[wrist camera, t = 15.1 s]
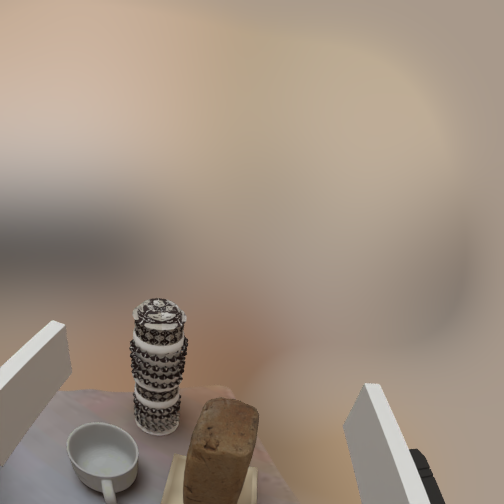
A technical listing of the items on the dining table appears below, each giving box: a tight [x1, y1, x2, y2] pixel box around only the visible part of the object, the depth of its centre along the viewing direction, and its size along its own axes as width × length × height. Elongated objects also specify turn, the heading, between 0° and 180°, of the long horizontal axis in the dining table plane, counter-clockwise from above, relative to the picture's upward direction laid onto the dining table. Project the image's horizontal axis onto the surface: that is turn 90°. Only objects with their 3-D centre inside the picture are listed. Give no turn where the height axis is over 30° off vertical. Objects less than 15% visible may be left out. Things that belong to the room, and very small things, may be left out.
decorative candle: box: [130, 298, 188, 436], centre depth 47 cm, size 9×9×25 cm
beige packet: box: [161, 454, 257, 504], centre depth 36 cm, size 14×14×1 cm
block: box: [183, 397, 259, 504], centre depth 33 cm, size 11×8×20 cm
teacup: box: [66, 422, 139, 504], centre depth 33 cm, size 14×11×8 cm
